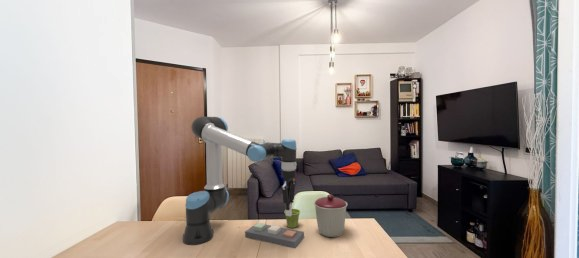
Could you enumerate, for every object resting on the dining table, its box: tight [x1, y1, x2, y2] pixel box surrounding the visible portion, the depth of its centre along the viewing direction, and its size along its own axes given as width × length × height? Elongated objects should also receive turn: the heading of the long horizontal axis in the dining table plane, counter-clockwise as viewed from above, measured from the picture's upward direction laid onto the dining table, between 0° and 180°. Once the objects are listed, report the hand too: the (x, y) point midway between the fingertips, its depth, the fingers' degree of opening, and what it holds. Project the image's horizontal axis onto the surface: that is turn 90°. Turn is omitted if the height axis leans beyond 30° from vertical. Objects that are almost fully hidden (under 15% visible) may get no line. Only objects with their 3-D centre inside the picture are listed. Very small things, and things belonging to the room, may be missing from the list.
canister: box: [313, 194, 348, 238], centre depth 129 cm, size 18×18×21 cm
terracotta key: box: [283, 230, 296, 238], centre depth 121 cm, size 5×5×3 cm
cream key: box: [268, 225, 282, 235], centre depth 125 cm, size 5×5×3 cm
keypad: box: [244, 223, 305, 249], centre depth 125 cm, size 29×12×3 cm, turn 65°
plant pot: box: [283, 208, 301, 229], centre depth 139 cm, size 9×9×9 cm
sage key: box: [252, 222, 267, 232], centre depth 129 cm, size 5×5×3 cm
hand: (288, 215), depth 121 cm, fingers closed
